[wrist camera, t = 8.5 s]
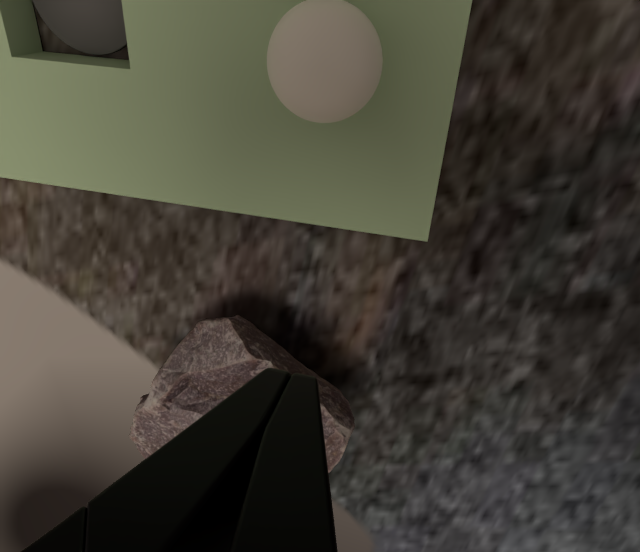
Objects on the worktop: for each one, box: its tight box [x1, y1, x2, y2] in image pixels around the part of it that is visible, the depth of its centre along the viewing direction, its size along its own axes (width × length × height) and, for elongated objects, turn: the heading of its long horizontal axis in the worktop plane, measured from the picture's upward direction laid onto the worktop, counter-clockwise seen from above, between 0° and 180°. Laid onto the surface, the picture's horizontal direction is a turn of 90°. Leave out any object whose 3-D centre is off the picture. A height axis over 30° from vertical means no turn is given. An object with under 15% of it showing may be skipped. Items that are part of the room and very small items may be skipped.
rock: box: [129, 315, 355, 473], centre depth 23 cm, size 8×11×5 cm
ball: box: [267, 0, 383, 123], centre depth 14 cm, size 3×3×3 cm
